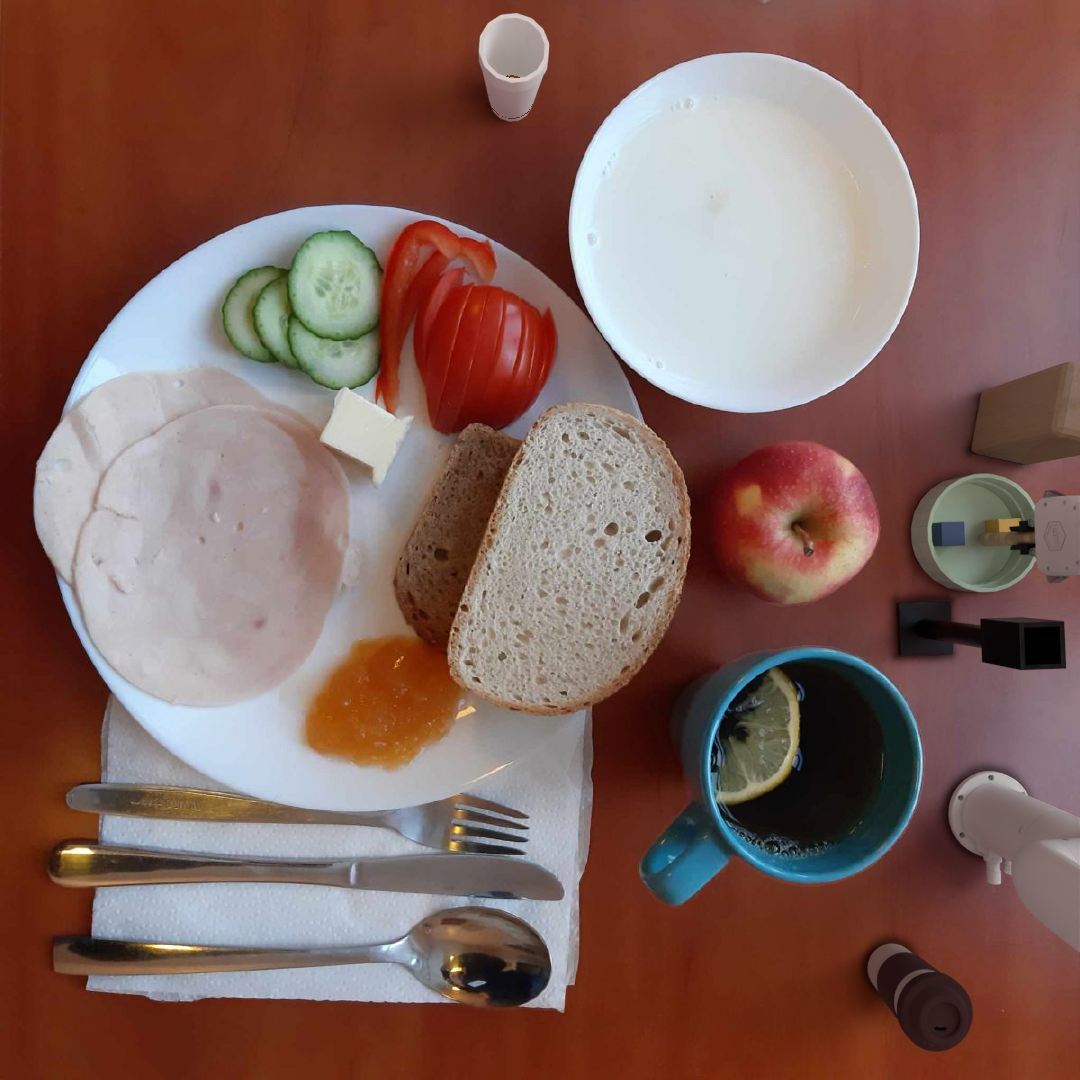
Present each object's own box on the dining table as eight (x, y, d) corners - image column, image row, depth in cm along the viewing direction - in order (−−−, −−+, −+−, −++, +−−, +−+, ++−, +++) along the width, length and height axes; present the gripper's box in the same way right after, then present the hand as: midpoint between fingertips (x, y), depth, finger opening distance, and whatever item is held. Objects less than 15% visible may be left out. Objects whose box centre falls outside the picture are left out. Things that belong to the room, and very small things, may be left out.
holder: (949, 653, 129) (1076, 678, 101) (898, 655, 128) (1011, 680, 100) (947, 600, 129) (1073, 610, 101) (896, 602, 128) (1008, 612, 101)
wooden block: (1029, 466, 130) (1128, 449, 110) (967, 453, 130) (1055, 433, 110) (1040, 403, 131) (1141, 374, 111) (979, 389, 130) (1068, 357, 110)
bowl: (1020, 589, 130) (1044, 590, 124) (911, 592, 128) (930, 593, 123) (1016, 476, 130) (1039, 472, 124) (906, 478, 129) (925, 474, 123)
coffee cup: (884, 919, 127) (938, 967, 112) (935, 960, 127) (995, 1013, 112) (844, 972, 126) (892, 1028, 111) (894, 1014, 126) (950, 1074, 112)
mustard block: (1008, 542, 129) (1022, 541, 125) (986, 543, 129) (1000, 543, 125) (1006, 519, 129) (1021, 517, 126) (984, 520, 129) (998, 519, 125)
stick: (991, 546, 127) (1053, 544, 113) (978, 546, 127) (1038, 544, 113) (990, 532, 127) (1052, 529, 114) (977, 533, 127) (1038, 529, 113)
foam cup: (471, 119, 126) (469, 68, 113) (489, 61, 126) (490, 4, 114) (532, 140, 127) (538, 91, 114) (550, 81, 127) (558, 27, 114)
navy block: (952, 545, 128) (965, 545, 125) (929, 546, 128) (942, 546, 125) (951, 522, 128) (964, 521, 125) (928, 523, 128) (941, 522, 125)
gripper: (1083, 467, 101) (991, 481, 119) (1089, 602, 100) (996, 595, 119) (1144, 465, 101) (1042, 480, 119) (1150, 600, 101) (1047, 594, 119)
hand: (1020, 538), depth 119 cm, fingers closed on stick, 2 cm apart
